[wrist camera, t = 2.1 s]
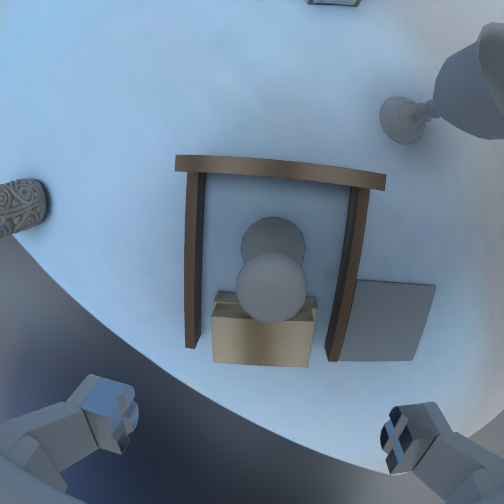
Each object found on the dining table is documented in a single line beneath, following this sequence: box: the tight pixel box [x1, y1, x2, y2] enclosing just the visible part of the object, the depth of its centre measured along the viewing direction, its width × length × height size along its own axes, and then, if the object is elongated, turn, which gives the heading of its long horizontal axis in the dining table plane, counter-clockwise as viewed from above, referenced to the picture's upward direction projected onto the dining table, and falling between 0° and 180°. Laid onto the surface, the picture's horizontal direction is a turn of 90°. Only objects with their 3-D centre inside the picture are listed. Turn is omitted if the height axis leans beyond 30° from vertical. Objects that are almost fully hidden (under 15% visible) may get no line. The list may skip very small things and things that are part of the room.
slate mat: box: [338, 279, 436, 361], centre depth 31 cm, size 10×10×1 cm
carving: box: [0, 179, 46, 240], centre depth 24 cm, size 6×8×12 cm
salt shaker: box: [236, 217, 308, 323], centre depth 23 cm, size 6×6×13 cm
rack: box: [175, 155, 386, 362], centre depth 26 cm, size 16×19×8 cm
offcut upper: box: [211, 303, 314, 367], centre depth 28 cm, size 9×5×3 cm, turn 89°
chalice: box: [380, 22, 504, 144], centre depth 16 cm, size 7×7×18 cm
